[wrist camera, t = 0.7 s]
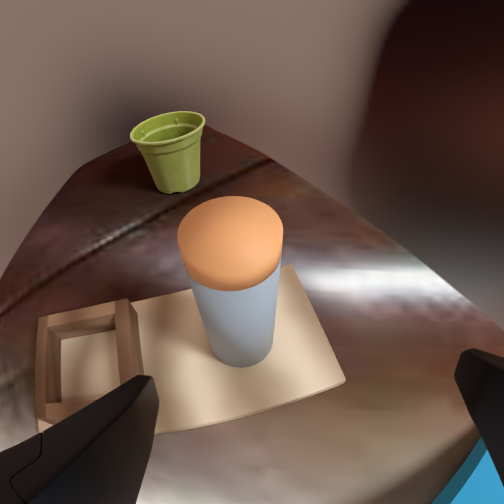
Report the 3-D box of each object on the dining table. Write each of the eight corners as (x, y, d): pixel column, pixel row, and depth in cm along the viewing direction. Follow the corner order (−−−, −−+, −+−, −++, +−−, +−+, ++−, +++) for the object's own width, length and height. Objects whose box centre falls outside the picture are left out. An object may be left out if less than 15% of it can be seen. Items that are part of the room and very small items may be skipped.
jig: (290, 270, 29) (293, 246, 26) (342, 383, 21) (355, 369, 18) (45, 326, 24) (27, 308, 21) (46, 440, 16) (21, 432, 14)
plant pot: (132, 189, 38) (116, 135, 32) (179, 157, 43) (171, 107, 37) (176, 212, 35) (161, 150, 28) (225, 174, 40) (221, 117, 33)
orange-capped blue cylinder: (277, 364, 21) (292, 265, 12) (211, 369, 21) (173, 275, 12) (268, 308, 25) (274, 192, 16) (209, 314, 24) (181, 200, 15)
